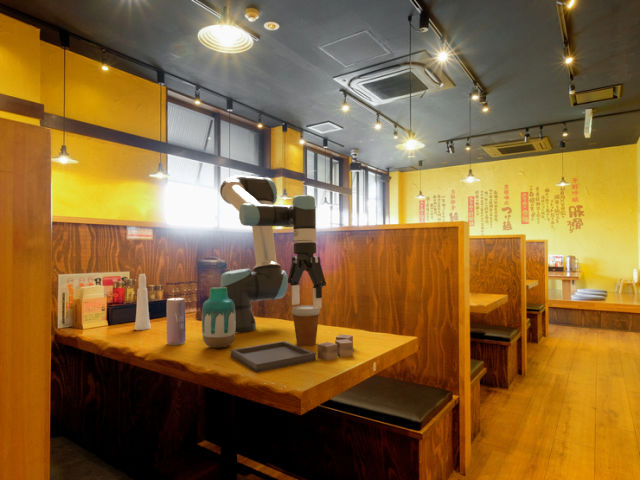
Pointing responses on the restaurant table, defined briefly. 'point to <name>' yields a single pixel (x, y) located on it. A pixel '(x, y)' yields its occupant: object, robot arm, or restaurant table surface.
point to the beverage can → (176, 321)
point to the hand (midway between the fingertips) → (306, 306)
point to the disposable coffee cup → (305, 324)
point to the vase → (218, 319)
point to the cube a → (327, 351)
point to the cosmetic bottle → (142, 306)
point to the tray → (272, 356)
